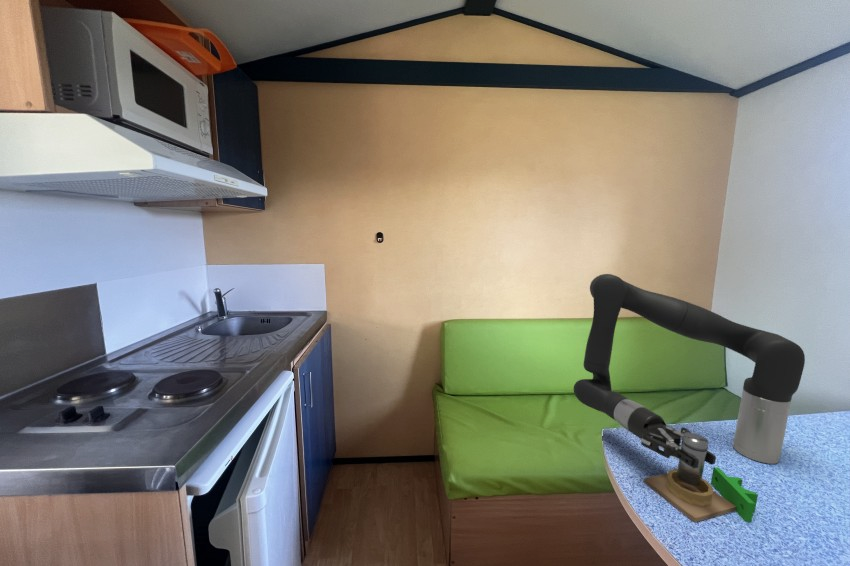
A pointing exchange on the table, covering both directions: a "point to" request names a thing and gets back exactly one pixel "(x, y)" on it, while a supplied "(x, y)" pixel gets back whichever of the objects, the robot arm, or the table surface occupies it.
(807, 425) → the table surface
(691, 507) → the ring seat
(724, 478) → the green bracket
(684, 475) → the grey lidded jar
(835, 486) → the table surface
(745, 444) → the robot arm
